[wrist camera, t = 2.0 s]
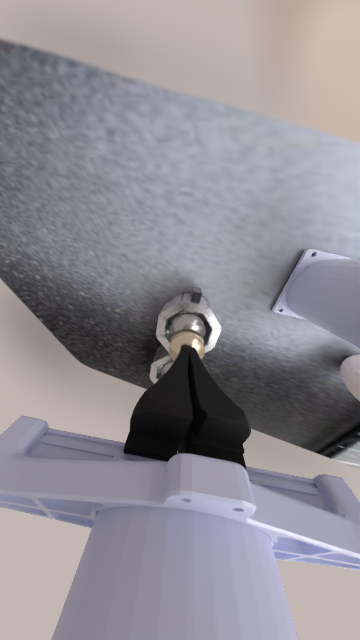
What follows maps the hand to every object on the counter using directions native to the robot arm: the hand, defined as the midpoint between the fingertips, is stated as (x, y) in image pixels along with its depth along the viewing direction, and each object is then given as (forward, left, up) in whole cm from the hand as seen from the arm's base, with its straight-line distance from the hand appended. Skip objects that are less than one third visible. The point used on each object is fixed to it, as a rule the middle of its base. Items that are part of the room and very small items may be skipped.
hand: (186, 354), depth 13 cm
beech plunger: (0, 0, -5) cm, 5 cm away
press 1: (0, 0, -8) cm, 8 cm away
